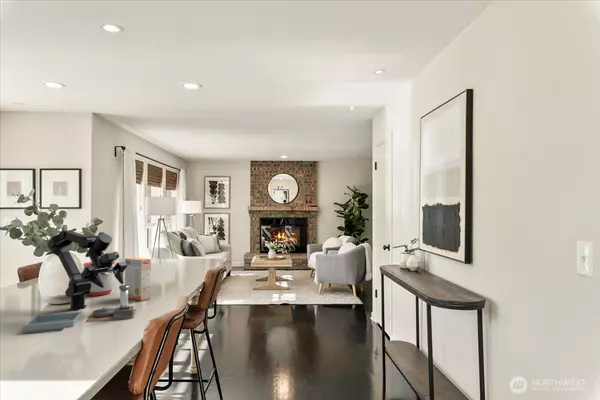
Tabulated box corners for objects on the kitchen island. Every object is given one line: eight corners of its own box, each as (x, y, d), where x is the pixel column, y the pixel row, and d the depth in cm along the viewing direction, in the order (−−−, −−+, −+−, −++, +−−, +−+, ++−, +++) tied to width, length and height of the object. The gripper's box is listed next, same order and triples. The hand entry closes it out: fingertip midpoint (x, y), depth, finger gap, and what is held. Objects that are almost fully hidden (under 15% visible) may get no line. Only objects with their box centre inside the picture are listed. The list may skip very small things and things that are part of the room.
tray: (36, 322, 153) (36, 315, 153) (80, 319, 158) (81, 312, 158) (24, 333, 140) (24, 325, 140) (73, 329, 145) (73, 321, 145)
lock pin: (119, 316, 160) (119, 285, 160) (129, 315, 161) (130, 284, 161) (118, 318, 156) (118, 287, 156) (128, 317, 157) (129, 286, 158)
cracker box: (150, 299, 194) (151, 258, 194) (140, 301, 189) (141, 260, 189) (134, 295, 201) (135, 256, 202) (123, 298, 196) (124, 258, 197)
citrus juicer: (94, 299, 194) (95, 260, 194) (76, 294, 203) (77, 257, 204) (122, 293, 207) (123, 257, 208) (104, 289, 216) (105, 255, 217)
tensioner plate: (91, 315, 164) (91, 304, 164) (136, 311, 170) (136, 301, 171) (84, 325, 150) (84, 313, 150) (133, 320, 156) (133, 309, 157)
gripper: (85, 247, 158) (100, 276, 152) (125, 244, 174) (140, 270, 168) (74, 265, 161) (88, 293, 156) (114, 260, 178) (128, 286, 172)
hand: (112, 285), depth 163 cm, fingers open, 9 cm apart
